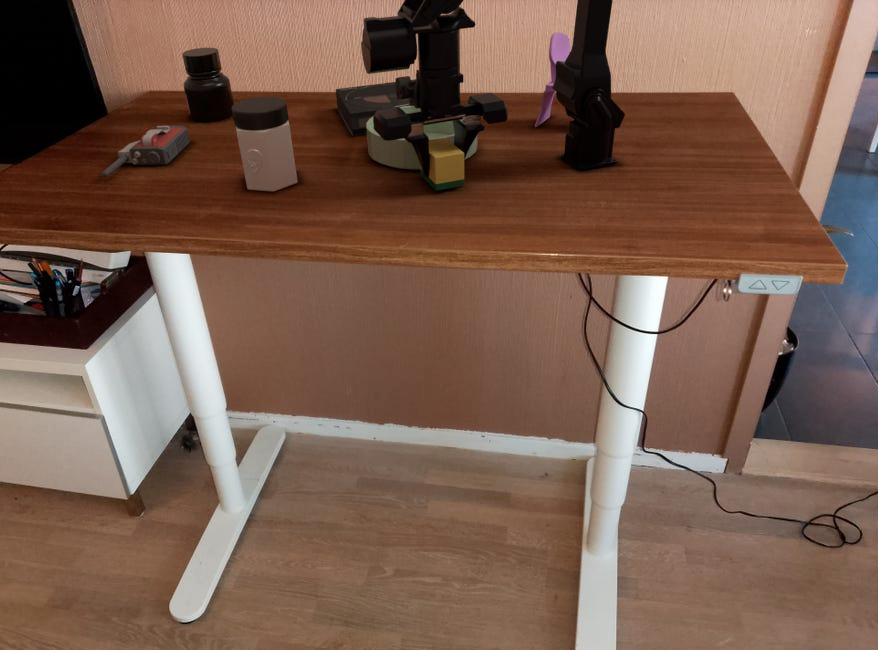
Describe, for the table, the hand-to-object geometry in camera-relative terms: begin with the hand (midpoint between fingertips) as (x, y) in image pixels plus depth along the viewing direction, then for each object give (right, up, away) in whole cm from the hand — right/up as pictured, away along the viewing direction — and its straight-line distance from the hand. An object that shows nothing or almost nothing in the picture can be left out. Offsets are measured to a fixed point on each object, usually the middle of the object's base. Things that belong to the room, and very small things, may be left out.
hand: (441, 173), depth 108 cm
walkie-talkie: (-50, +6, +16) cm, 53 cm away
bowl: (-2, +7, +13) cm, 15 cm away
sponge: (0, -1, +1) cm, 1 cm away
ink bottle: (-44, +21, +36) cm, 60 cm away
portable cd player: (-9, +18, +28) cm, 35 cm away
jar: (-27, 0, +6) cm, 27 cm away
